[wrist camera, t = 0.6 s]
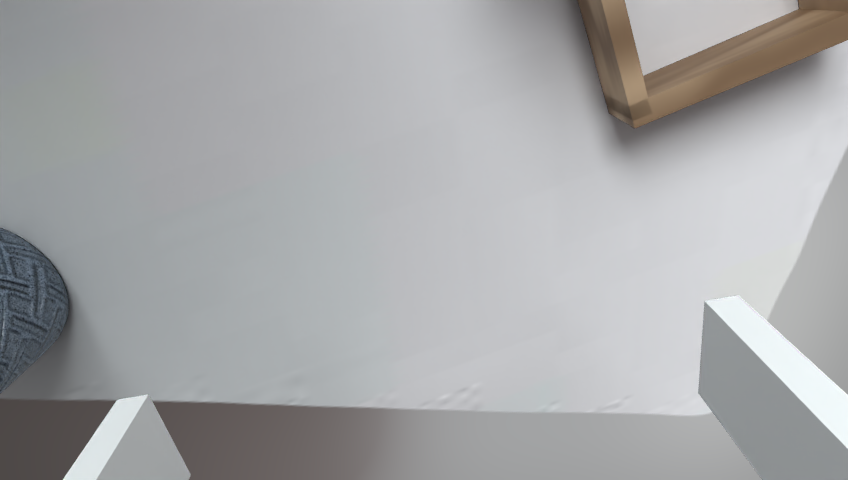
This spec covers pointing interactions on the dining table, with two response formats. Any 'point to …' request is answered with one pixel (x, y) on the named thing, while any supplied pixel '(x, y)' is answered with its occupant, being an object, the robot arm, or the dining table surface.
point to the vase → (27, 306)
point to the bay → (701, 57)
